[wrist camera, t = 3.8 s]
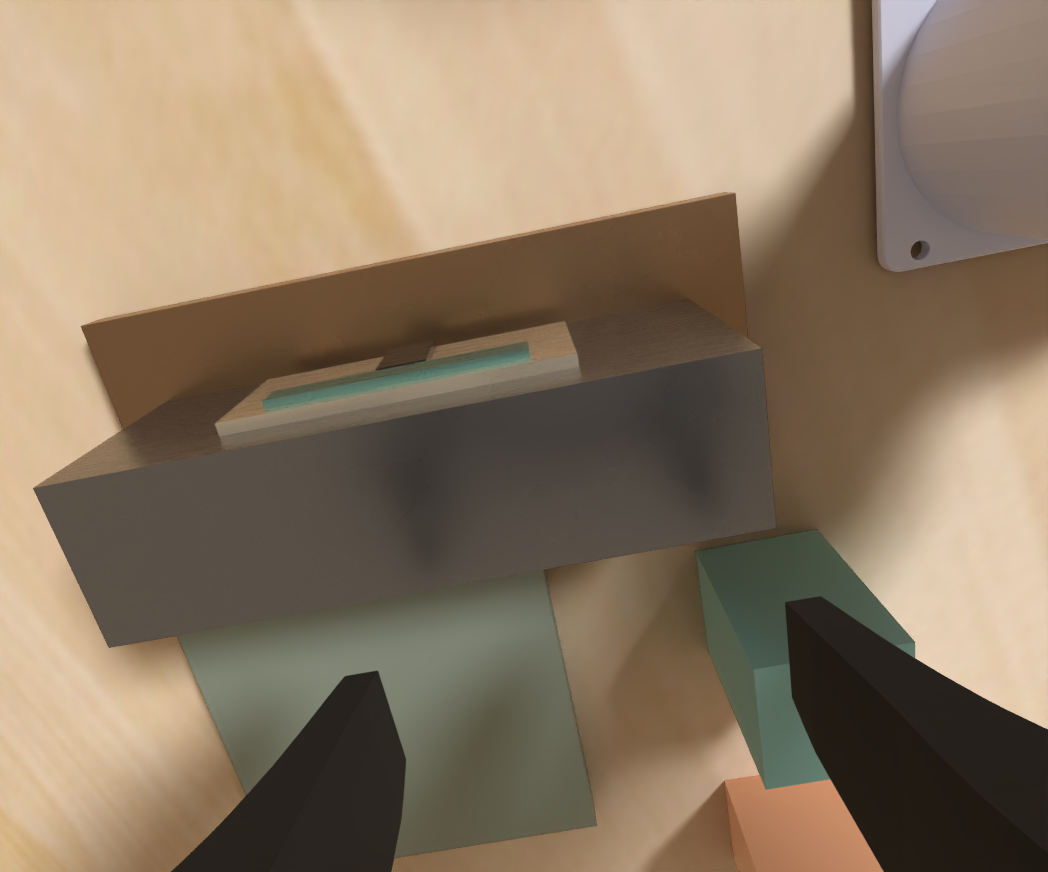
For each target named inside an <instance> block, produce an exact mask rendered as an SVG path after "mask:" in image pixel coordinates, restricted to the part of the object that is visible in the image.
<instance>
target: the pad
mask: <svg viewBox="0 0 1048 872" xmlns="http://www.w3.org/2000/svg"><path fill="white" fill-rule="evenodd" d="M177 637H178V639H179V641H180V644H181V646H182V648H183V651H184V653H185V655H186V658H187V660H188V662H189V665H190V667H191V669H192V671H193V674H194V676H195V678H196V681H197V683H198V685H199V688H200V690H201V692H202V695H203V697H204V699H205V702H206V704H207V706H208V708H209V711H210V713H211V715H212V718H213V720H214V722H215V725H216V727H217V729H218V732H219V734H220V736H221V738H222V741H223V743H224V745H225V748H226V750H227V752H228V755H229V757H230V759H231V762H232V764H233V766H234V769H235V771H236V773H237V775H238V778H239V780H240V782H241V785H242V787H243V789H244V792H245V794H246V795H247V794H248V793H249V792H250V791H251V790H252V788H253V787H254V786H255V785H256V784H257V783H258V782H259V781H260V779H261V778H262V777H263V776H264V775H265V774H266V773H267V772H268V770H269V769H270V768H271V767H272V766H273V765H274V764H275V762H276V761H277V760H278V759H279V757H280V756H281V755H282V754H283V753H284V751H285V750H286V749H287V748H288V746H289V745H290V744H291V743H292V741H293V740H294V739H295V738H296V737H297V735H298V734H299V733H300V732H301V730H302V729H303V728H304V727H305V725H306V724H307V723H308V722H309V720H310V719H311V718H312V716H313V715H314V714H315V713H316V711H317V710H318V709H319V708H320V706H321V705H322V704H323V702H324V701H325V700H326V699H327V697H328V696H329V695H330V694H331V692H332V691H333V690H334V689H335V687H336V686H337V685H338V684H339V682H340V681H341V680H342V679H343V678H344V677H345V676H348V675H354V674H360V673H366V672H372V671H378V672H379V675H380V678H381V681H382V684H383V688H384V691H385V694H386V697H387V700H388V703H389V707H390V710H391V713H392V716H393V719H394V722H395V725H396V729H397V732H398V735H399V738H400V741H401V744H402V748H403V751H404V754H405V757H406V771H405V786H404V799H403V810H402V819H401V825H400V830H399V835H398V840H397V845H396V850H395V855H394V858H399V857H405V856H411V855H417V854H424V853H430V852H436V851H442V850H448V849H455V848H461V847H467V846H473V845H479V844H486V843H492V842H498V841H504V840H511V839H517V838H523V837H529V836H535V835H542V834H548V833H554V832H560V831H567V830H573V829H579V828H585V827H591V826H597V823H596V816H595V808H594V802H593V797H592V792H591V787H590V783H589V778H588V773H587V769H586V764H585V759H584V754H583V750H582V745H581V740H580V736H579V731H578V726H577V721H576V717H575V712H574V707H573V702H572V698H571V693H570V688H569V684H568V679H567V674H566V669H565V665H564V660H563V655H562V650H561V646H560V641H559V636H558V632H557V627H556V622H555V617H554V613H553V608H552V603H551V598H550V594H549V589H548V584H547V580H546V575H545V570H540V571H534V572H529V573H523V574H518V575H512V576H507V577H501V578H495V579H490V580H484V581H479V582H473V583H467V584H462V585H456V586H451V587H445V588H440V589H434V590H428V591H423V592H417V593H412V594H406V595H401V596H395V597H389V598H384V599H378V600H373V601H367V602H362V603H356V604H350V605H345V606H339V607H334V608H328V609H323V610H317V611H311V612H306V613H300V614H295V615H289V616H284V617H278V618H272V619H267V620H261V621H256V622H250V623H245V624H239V625H233V626H228V627H222V628H217V629H211V630H206V631H200V632H194V633H189V634H183V635H178V636H177Z"/></svg>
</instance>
